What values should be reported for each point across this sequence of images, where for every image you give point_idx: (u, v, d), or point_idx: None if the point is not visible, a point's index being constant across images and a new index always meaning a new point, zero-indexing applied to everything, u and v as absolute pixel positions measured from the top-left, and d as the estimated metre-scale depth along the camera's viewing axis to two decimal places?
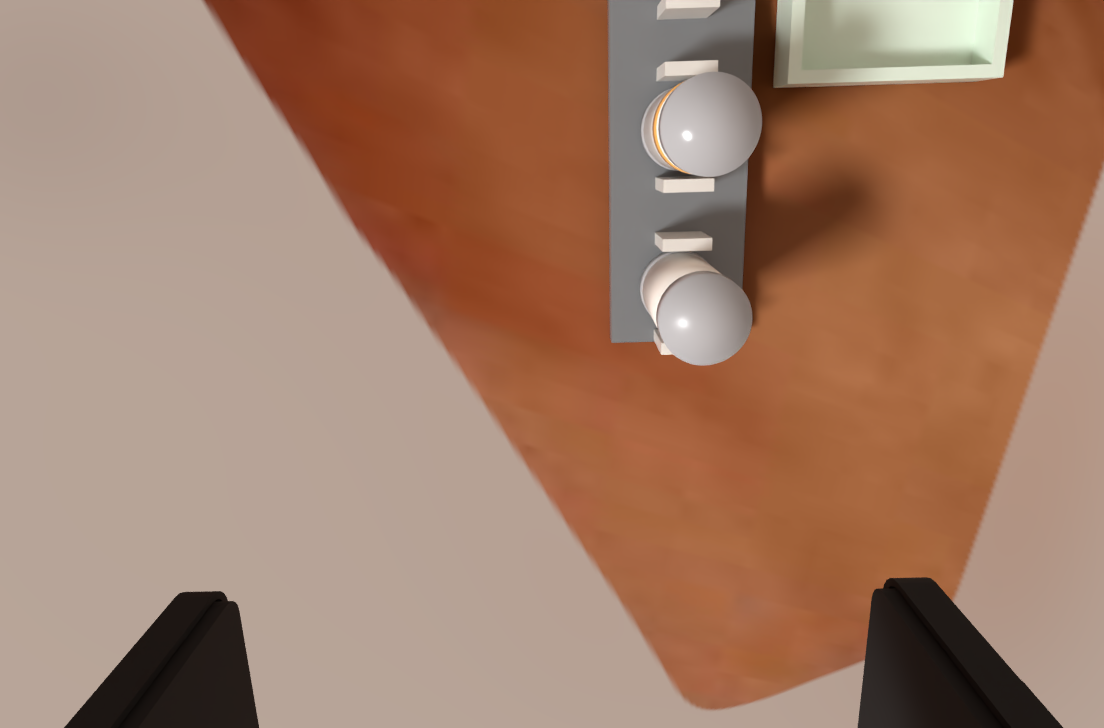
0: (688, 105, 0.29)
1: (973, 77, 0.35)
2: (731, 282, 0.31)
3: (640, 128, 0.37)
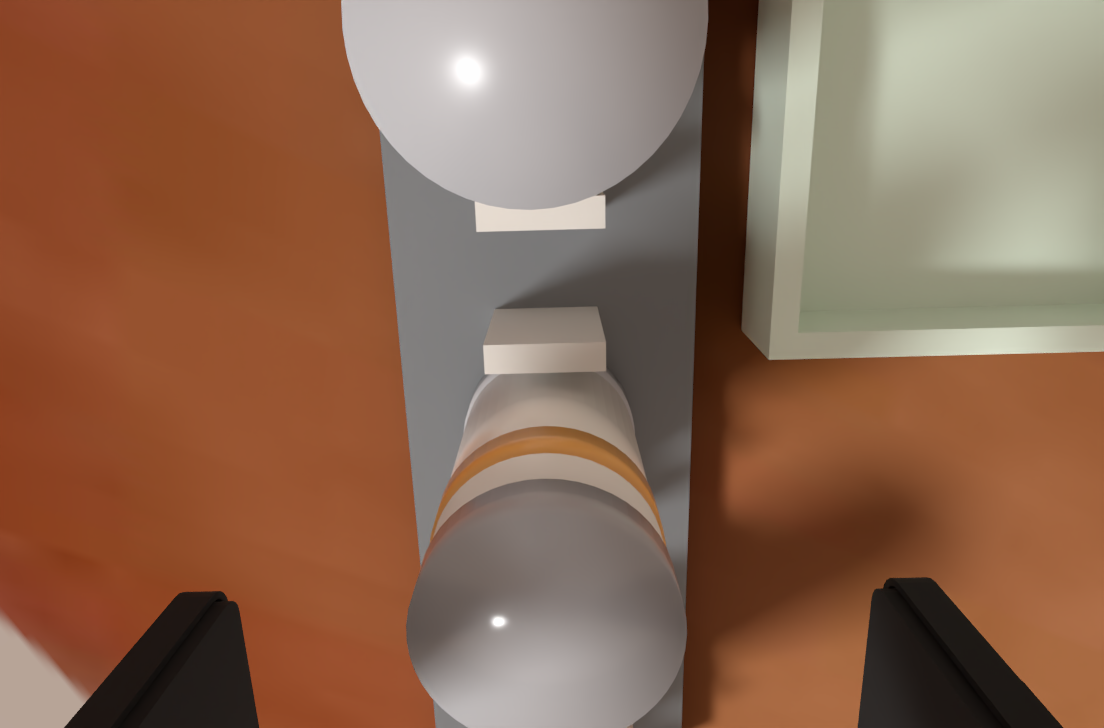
0: (478, 591, 0.10)
1: None
2: None
3: None
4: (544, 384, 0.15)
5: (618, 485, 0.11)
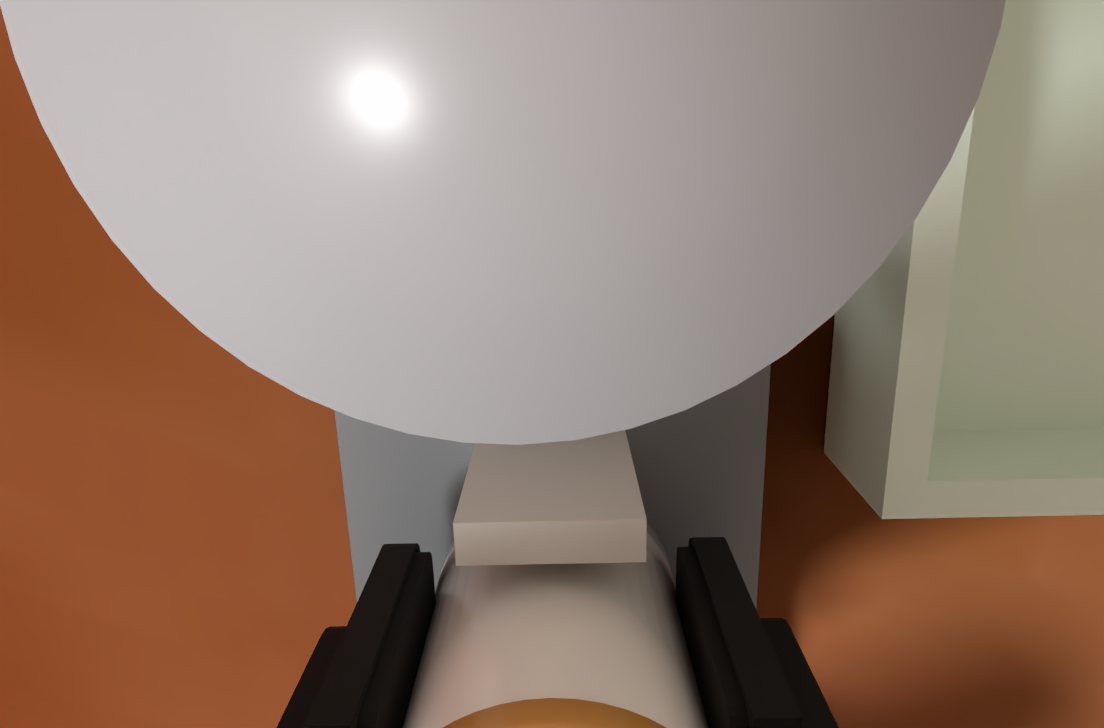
0: None
1: None
2: None
3: None
4: (549, 575, 0.10)
5: None
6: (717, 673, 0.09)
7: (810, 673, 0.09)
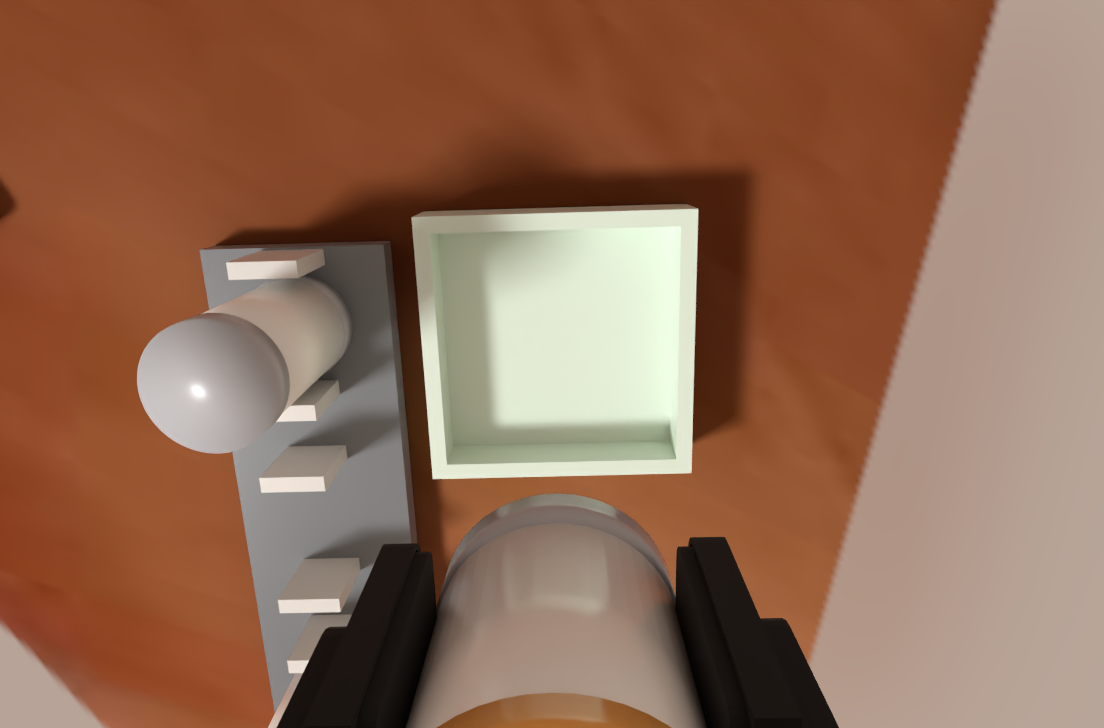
0: None
1: (656, 472, 0.29)
2: None
3: None
4: (550, 579, 0.10)
5: None
6: (717, 673, 0.09)
7: (810, 673, 0.09)
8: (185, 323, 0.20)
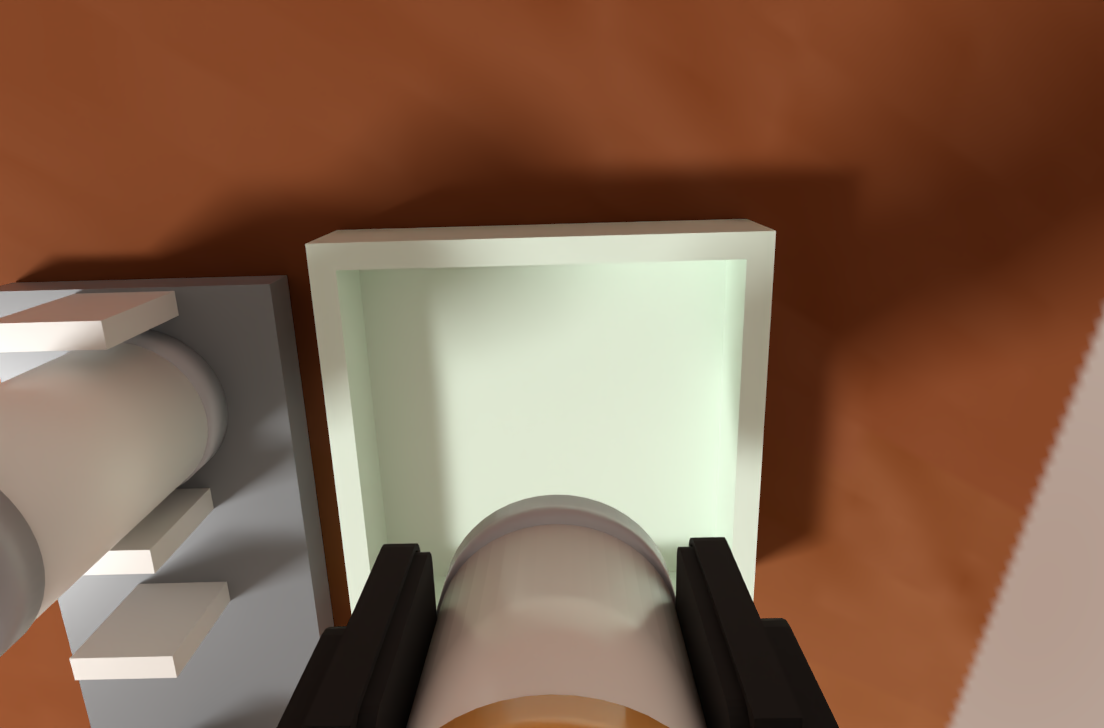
0: None
1: None
2: None
3: None
4: (551, 581, 0.10)
5: None
6: (717, 673, 0.09)
7: (810, 673, 0.09)
8: None
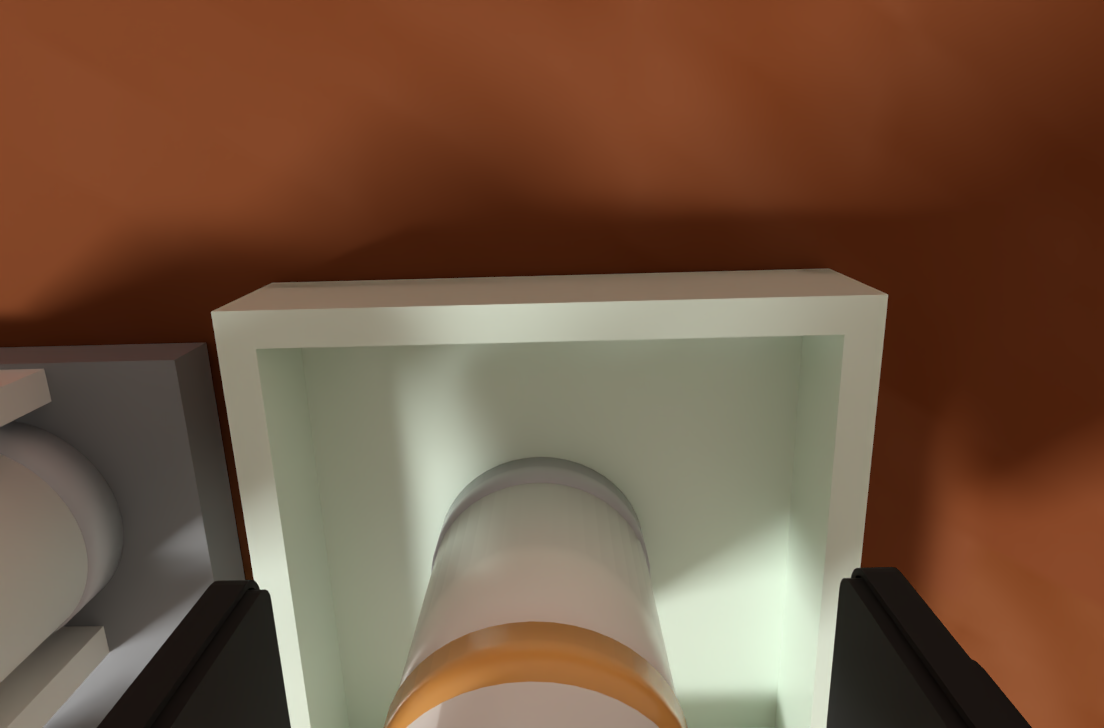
0: None
1: None
2: None
3: None
4: (534, 531, 0.11)
5: None
6: None
7: (1028, 725, 0.08)
8: None
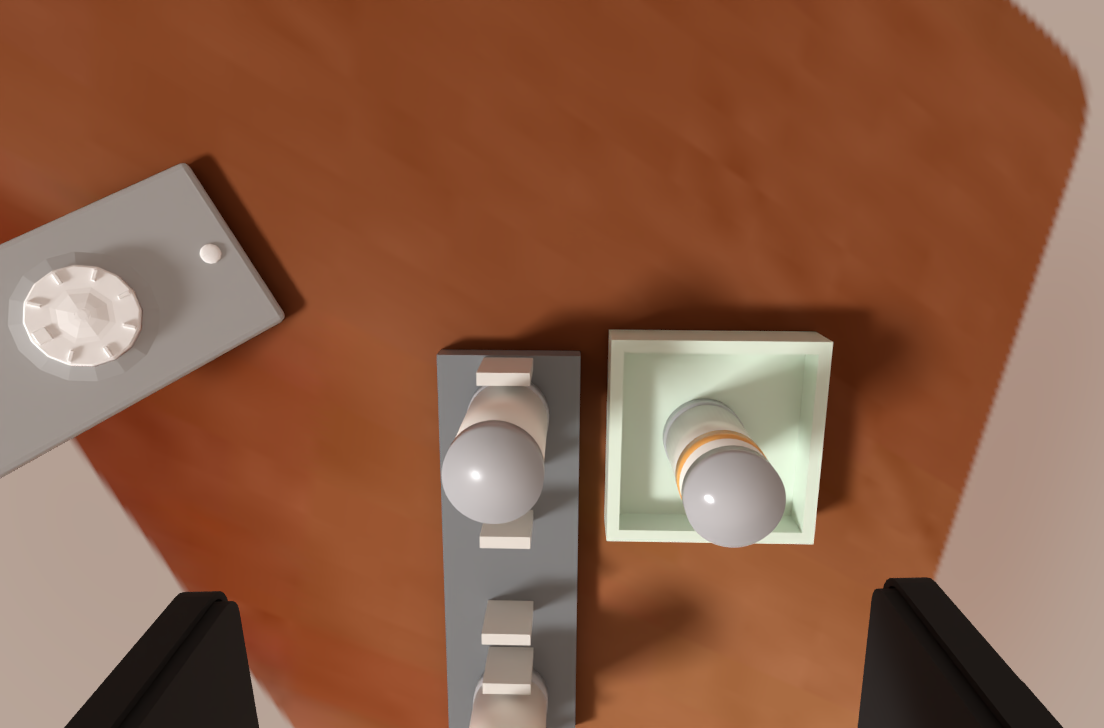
0: (713, 482, 0.29)
1: (785, 542, 0.36)
2: None
3: (663, 434, 0.37)
4: (714, 415, 0.34)
5: (758, 451, 0.30)
6: None
7: None
8: (483, 430, 0.28)
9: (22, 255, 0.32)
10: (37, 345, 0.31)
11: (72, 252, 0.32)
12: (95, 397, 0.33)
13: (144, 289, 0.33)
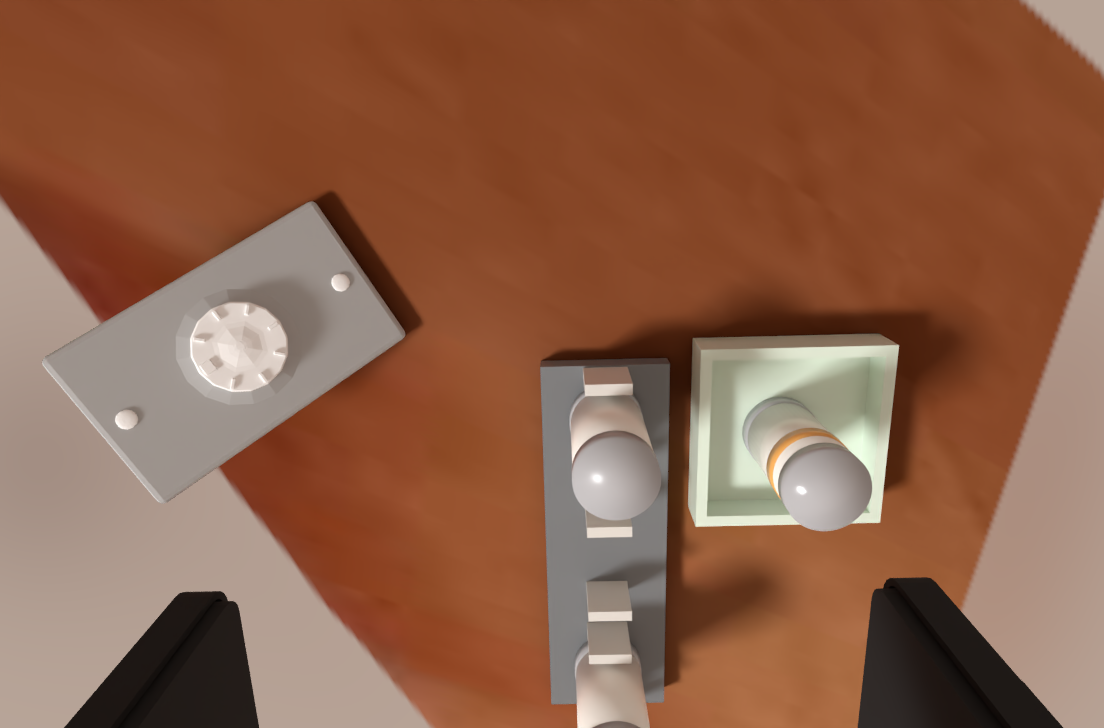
0: (809, 475, 0.33)
1: (854, 522, 0.41)
2: None
3: (743, 429, 0.41)
4: (795, 413, 0.38)
5: (844, 446, 0.35)
6: None
7: None
8: (609, 440, 0.32)
9: (183, 295, 0.35)
10: (204, 376, 0.35)
11: (225, 290, 0.36)
12: (252, 418, 0.37)
13: (287, 319, 0.37)
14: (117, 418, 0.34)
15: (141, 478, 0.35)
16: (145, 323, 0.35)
